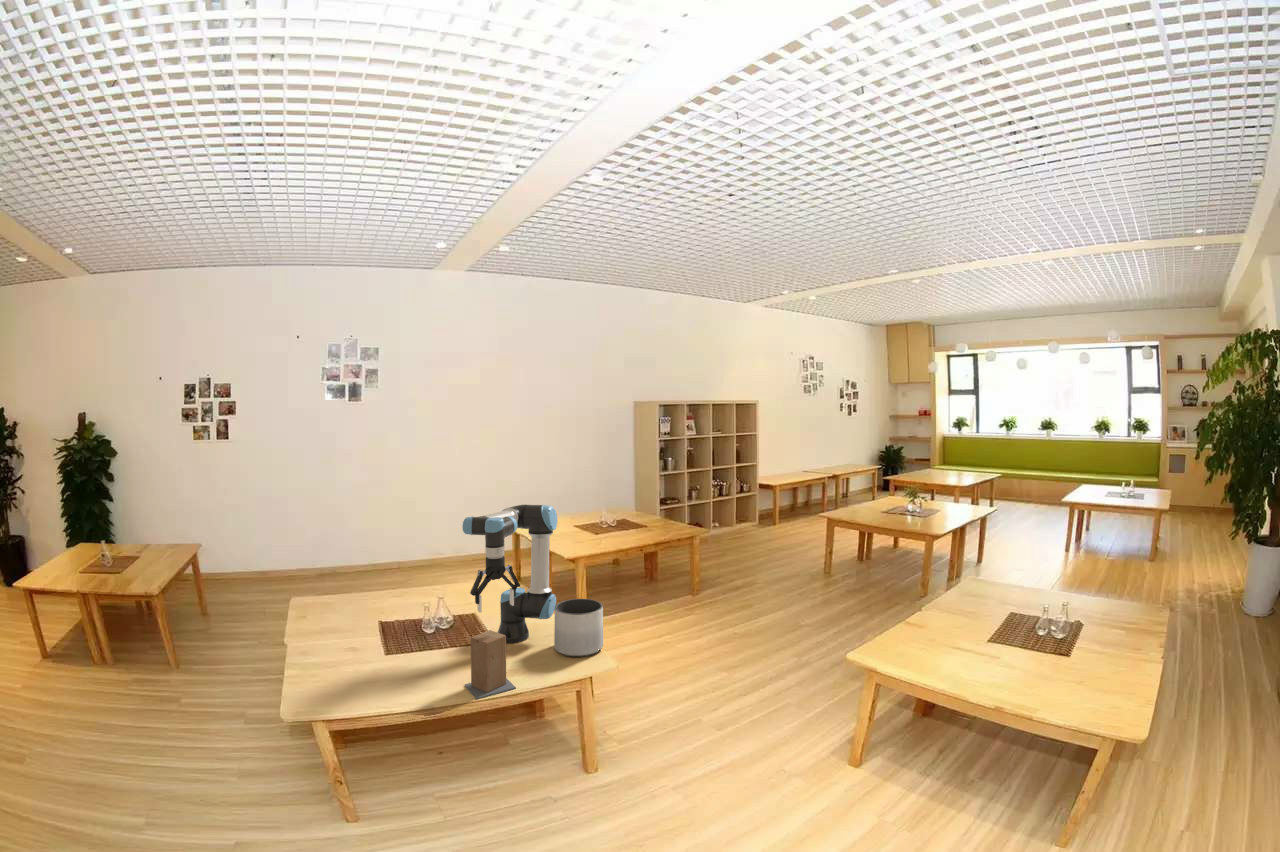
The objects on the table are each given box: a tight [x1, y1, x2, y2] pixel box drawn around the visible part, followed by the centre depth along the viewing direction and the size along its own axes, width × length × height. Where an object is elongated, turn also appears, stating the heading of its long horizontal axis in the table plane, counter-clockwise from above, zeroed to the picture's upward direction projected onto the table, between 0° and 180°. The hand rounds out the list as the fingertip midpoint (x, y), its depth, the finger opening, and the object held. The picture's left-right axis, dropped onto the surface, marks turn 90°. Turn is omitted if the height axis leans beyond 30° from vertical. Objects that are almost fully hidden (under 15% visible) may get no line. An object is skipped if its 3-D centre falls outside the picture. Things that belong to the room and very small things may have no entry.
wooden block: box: [470, 629, 507, 693], centre depth 245 cm, size 10×10×20 cm
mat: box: [464, 677, 516, 701], centre depth 245 cm, size 14×16×1 cm
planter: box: [553, 598, 604, 658], centre depth 283 cm, size 23×23×20 cm
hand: (496, 608), depth 248 cm, fingers open, 13 cm apart
